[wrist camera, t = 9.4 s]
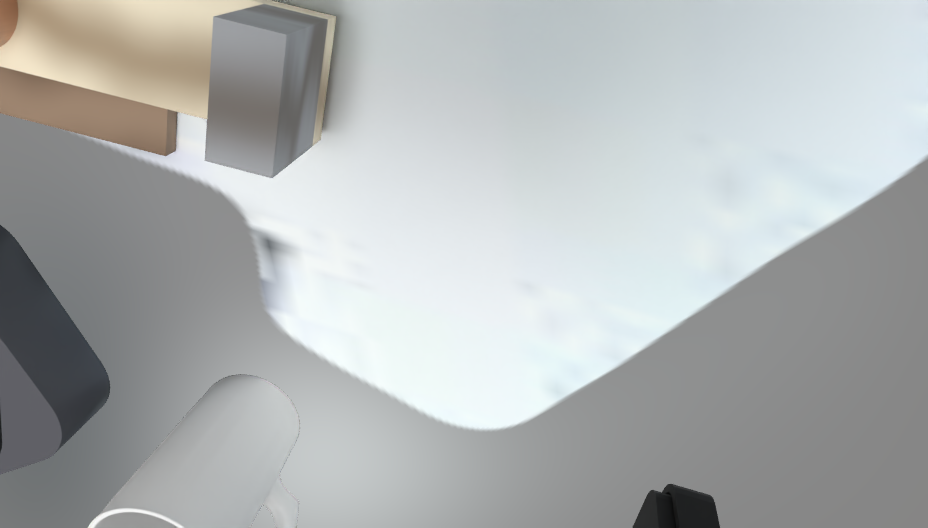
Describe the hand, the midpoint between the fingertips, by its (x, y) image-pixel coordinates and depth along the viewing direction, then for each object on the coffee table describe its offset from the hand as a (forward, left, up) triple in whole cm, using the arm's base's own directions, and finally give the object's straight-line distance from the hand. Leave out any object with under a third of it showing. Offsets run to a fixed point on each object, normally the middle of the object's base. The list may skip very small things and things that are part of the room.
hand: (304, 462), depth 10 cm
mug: (+25, -10, -28) cm, 39 cm away
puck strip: (+2, -20, -27) cm, 33 cm away
